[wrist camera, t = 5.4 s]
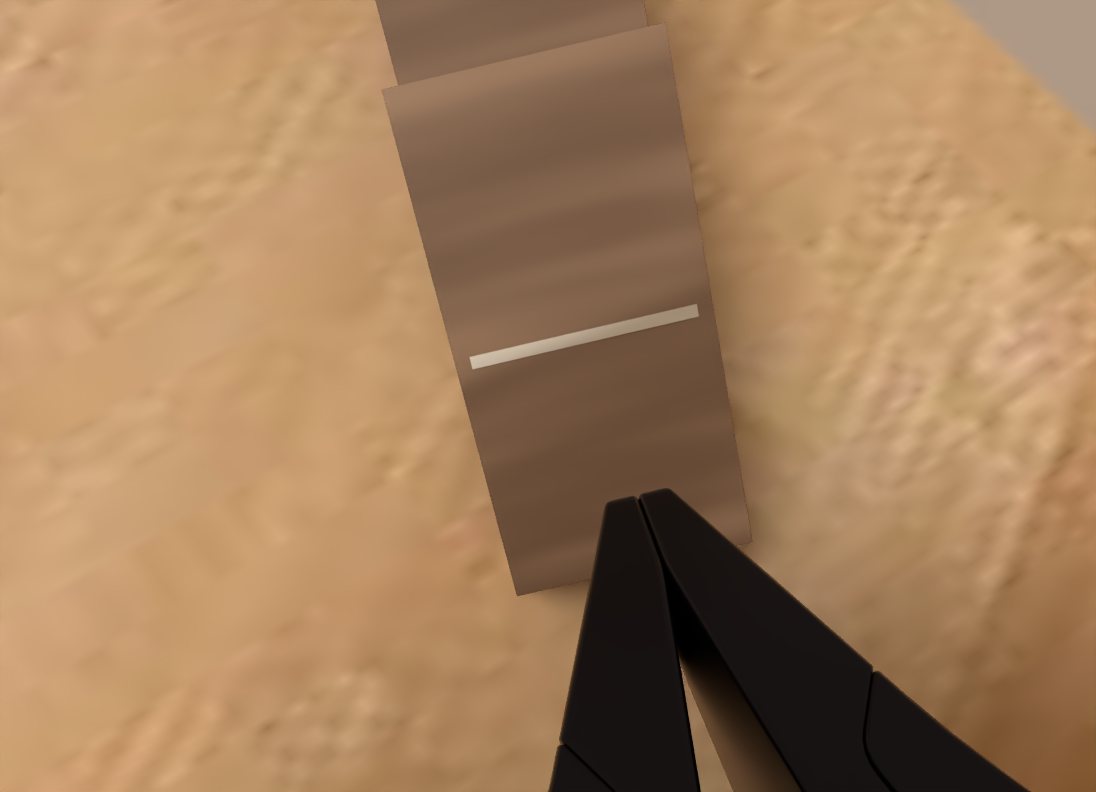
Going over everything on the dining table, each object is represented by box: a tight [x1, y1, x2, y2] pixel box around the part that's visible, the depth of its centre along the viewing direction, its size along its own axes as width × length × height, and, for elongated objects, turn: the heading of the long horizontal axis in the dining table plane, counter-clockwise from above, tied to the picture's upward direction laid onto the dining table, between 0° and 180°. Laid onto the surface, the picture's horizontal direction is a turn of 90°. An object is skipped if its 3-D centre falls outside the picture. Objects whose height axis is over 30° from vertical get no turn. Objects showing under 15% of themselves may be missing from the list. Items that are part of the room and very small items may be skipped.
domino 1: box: [376, 0, 648, 86], centre depth 15 cm, size 2×5×10 cm
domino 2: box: [382, 23, 752, 596], centre depth 14 cm, size 2×5×10 cm
